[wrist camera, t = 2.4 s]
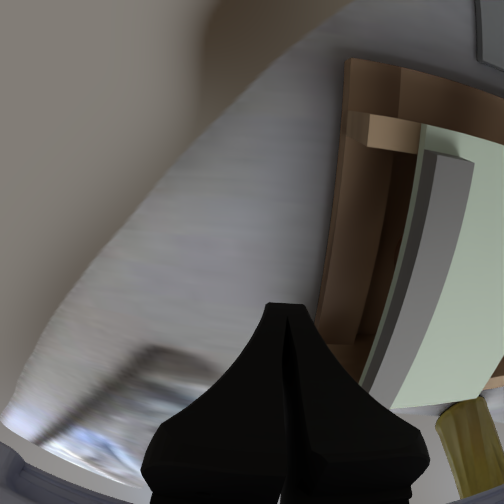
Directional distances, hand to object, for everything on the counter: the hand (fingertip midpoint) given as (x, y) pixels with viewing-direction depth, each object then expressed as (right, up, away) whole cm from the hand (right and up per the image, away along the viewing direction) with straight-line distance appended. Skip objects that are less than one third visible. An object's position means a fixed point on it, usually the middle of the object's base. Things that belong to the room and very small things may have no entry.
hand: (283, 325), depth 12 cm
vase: (+20, -14, +14) cm, 28 cm away
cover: (+9, 0, +1) cm, 9 cm away
